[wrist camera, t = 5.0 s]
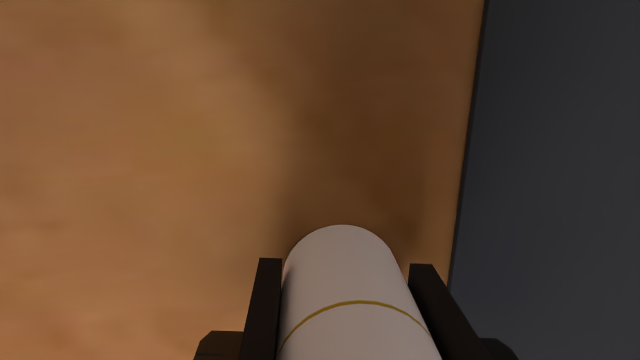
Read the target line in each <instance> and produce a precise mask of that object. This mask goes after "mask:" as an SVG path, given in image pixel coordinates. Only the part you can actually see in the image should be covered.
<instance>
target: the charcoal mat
mask: <svg viewBox="0 0 640 360" xmlns="http://www.w3.org/2000/svg"><path fill="white" fill-rule="evenodd" d="M447 289H448V290H449V292H450V293H451V295H452V296H453V298H454V300H455V301H456V303H457V304H458V306H459V307H460V309H461V311H462V312H463V314H464V315H465V317H466V318H467V320H468V321H469V323H470V325H471V326H472V328H473V329H474V331H475V332H476V334H477V336H478V337H479V338H497V339H498V340H500V341H501V342H502V343H504V344H505V345H507V346H508V347H509V348H511V349H512V350H513V352H514V353H515V354H516V356H517V357H518V359H519V360H640V0H485V5H484V12H483V20H482V27H481V35H480V43H479V50H478V58H477V65H476V73H475V80H474V88H473V96H472V103H471V111H470V118H469V126H468V133H467V141H466V148H465V156H464V164H463V171H462V179H461V186H460V194H459V201H458V209H457V217H456V224H455V232H454V239H453V247H452V254H451V262H450V270H449V277H448V285H447Z"/></svg>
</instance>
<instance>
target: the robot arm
mask: <svg viewBox="0 0 640 360" xmlns="http://www.w3.org/2000/svg"><path fill="white" fill-rule="evenodd" d="M281 280H282V258H259V263H258V268H257V272H256V277H255V282H254V286H253V291H252V295H251V300H250V305H249V309H248V314H247V319H246V323H245V328H244V332H239V331H211V332H210V333H209V334H207V335H206V336H205V337H204V338H203V339H202V340H201V341H200V343H199V346H198V348H197V351H196V355H195V357H194V359H193V360H275V354H276V343H277V332H278V321H279V310H280V299H281ZM408 288H409V290H410V292H411V294H412V296H413V298H414V300H415V303H416V305H417V307H418V309H419V311H420V313H421V315H422V318H423V320H424V322H425V324H426V326H427V328H428V330H429V333H430V335H431V337H432V339H433V341H434V343H435V345H436V347H437V350H438V352H439V354H440V356H441V358H442V360H519V359H518V357H517V356H516V354H515V353H514V352H513V350H512V349H511V348H509V347H508V346H507V345H505V344H504V343H502V342H501V341H500V340H498V339H497V338H479V337H478V336H477V334H476V332H475V331H474V329H473V328H472V326H471V325H470V323H469V321H468V320H467V318H466V317H465V315H464V314H463V312H462V311H461V309H460V307H459V306H458V304H457V303H456V301H455V300H454V298H453V296H452V295H451V293H450V292H449V290H448V289H447V287H446V286H445V284H444V282H443V281H442V279H441V278H440V276H439V275H438V273H437V271H436V270H435V268H434V267H433V265H432V264H410V268H409V277H408Z"/></svg>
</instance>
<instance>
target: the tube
mask: <svg viewBox="0 0 640 360" xmlns="http://www.w3.org/2000/svg"><path fill="white" fill-rule="evenodd" d="M275 360H442V358H441V356H440V354H439V352H438V350H437V347H436V345H435V343H434V341H433V339H432V337H431V335H430V333H429V330H428V328H427V326H426V324H425V322H424V320H423V318H422V315H421V313H420V311H419V309H418V307H417V305H416V303H415V300H414V298H413V296H412V294H411V292H410V290H409V288H408V285H407V283H406V281H405V279H404V277H403V275H402V273H401V270H400V268H399V266H398V264H397V262H396V260H395V258H394V256H393V254H392V252H391V250H390V248H389V247H388V246H387V245H386V244H385V243H384V242H383V240H382V239H380V238H379V237H378V236H376V235H375V234H374V233H372V232H370V231H368V230H366V229H364V228H361V227H357V226H353V225H342V224H341V225H331V226H327V227H324V228H320V229H317V230H316V231H314V232H312V233H310V234H308V235H307V236H305V237H304V238H303V239H302V240H300V241H299V242H298V243H297V244H296V246H295V247H294V248H293V249H292V251H291V252H290V254H289V256H288V258H287V260H286V262H285V266H284V269H283V278H282V289H281V299H280V310H279V321H278V332H277V343H276V354H275Z"/></svg>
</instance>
